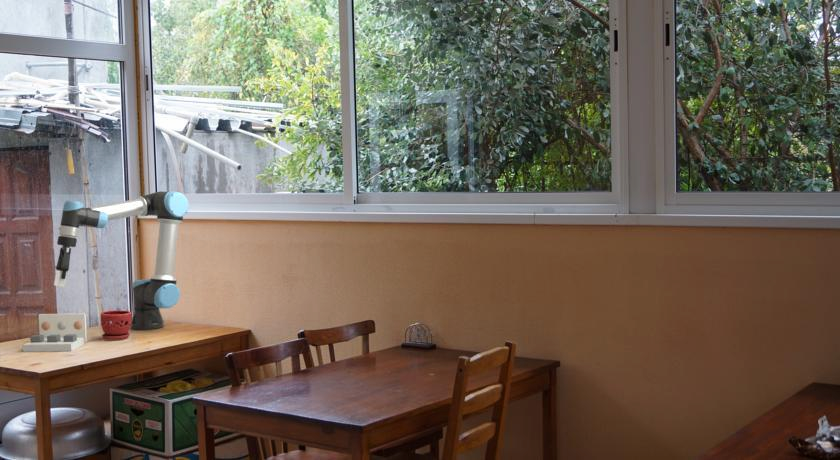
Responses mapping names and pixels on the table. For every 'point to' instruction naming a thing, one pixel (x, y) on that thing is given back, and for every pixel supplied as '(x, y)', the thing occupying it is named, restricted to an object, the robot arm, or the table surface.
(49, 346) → the console
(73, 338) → the outer button
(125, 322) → the plant pot
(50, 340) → the middle button
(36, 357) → the table surface
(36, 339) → the outer button
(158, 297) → the robot arm
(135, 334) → the table surface
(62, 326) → the pattern sign
